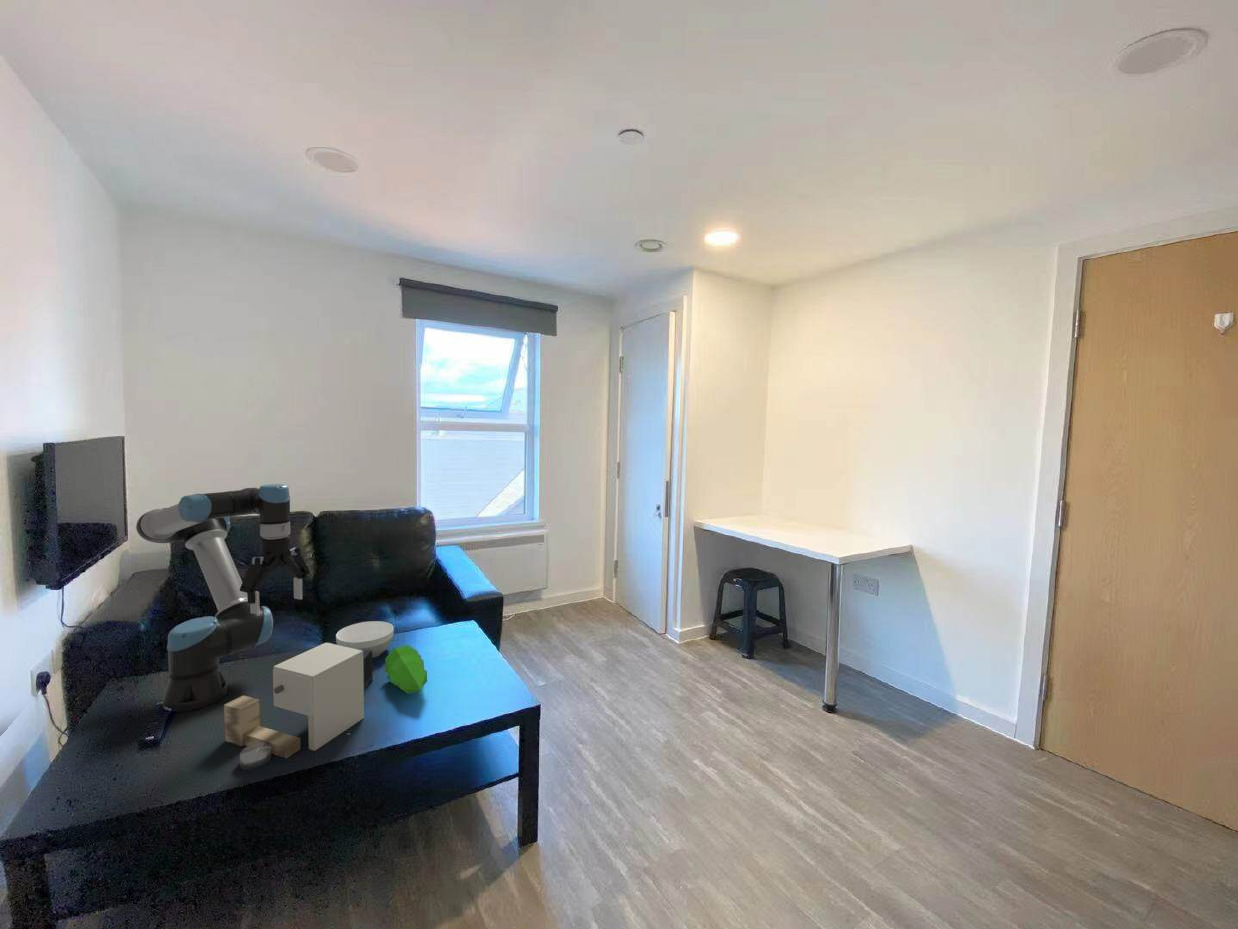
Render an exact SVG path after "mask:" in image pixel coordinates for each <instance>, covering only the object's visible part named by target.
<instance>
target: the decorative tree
mask: <svg viewBox="0 0 1238 929" xmlns="http://www.w3.org/2000/svg"><path fill="white" fill-rule="evenodd" d="M384 660H385V662H384V665H385V666H384V668H385V670H384V671H385V673H387V677H388V678H389V682H390V683H392V684H393V685H394V686H396V687H397V688H398V689H400V690H402V691H403V692H405V693H406V694H408V695H410V694H413V693H418V692H420V691H422V690H421V689H422V688H423V687H424V686H425V684H427V683H428V671H427V670H426V669H425V664H424V662H425V661H424V659H422V655H420V654H419V651H418V650H417V649H415V648H413V646H411V645H410V644H408V645H402V646H397V647H394V649H392V651H391V652H390V653H389V654H388V655H387V656H386V657H385V659H384Z"/></svg>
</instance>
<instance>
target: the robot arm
mask: <svg viewBox="0 0 1238 929" xmlns="http://www.w3.org/2000/svg"><path fill="white" fill-rule="evenodd" d="M248 515H258V516H259V536H260V537H261V538H260V540H259V541H260V550H261V556H258V557H257V556H251V557H250V562H249V566H248V569H247V571H246V573H245V576H244V578H243V581H242V578H241V576H240V574H239V571H238V569H237V567H236V565H235V562H234V560H233V557H232V555H231V553H230V551H229V548H228V546H227V543H226V542H225V539H226V538H227V537H228V533H229V531H230V529H231V522H230V520H231V519H230V518H231V517H238V516H248ZM135 528H136V532H137V533H138V535H139V536H140V537H141V538H142V539H144V540H145V541H148V542H150V543H156V544H171V543H177V542H178V543H179V542H183V543H184V546H185V548H186V549H187V550H190V551H193V552H194V554H195V558H196V560H197V562H198V565H199V567H200V569H201V572H202V575H203V576H204V579H205V582H206V585H207V587H208V589H209V591H210V594H211V596H212V599H213V602H214V603H215V605H216V609H217V612H216V613H215V615H214V616H209V615H208V616H202V617H196V618H193V619H189V620H186V621H184V622H182V623H180V624H178V625H176V626H174V627H173V628H172V629H171V630H170V631H169V633H168V635H167V644H166V650H167V661H168V678H169V679H168V682H167V685H166V688H165V691H164V693H163V696H162V698H161V699H162V701H161V702H162V703H161V704H162V705H163V706H165V707H168V708H171V709H172V710H174V711H176V712H175V713H178V712H179V713H182V712H188V711H189V712H190V711H193V710H199V709H200V708H204V707H208V706H209V705H212V704H214V703H216V702H217V701H220V700H221V699H223V697H225V696H226V695H227V692H228V683H227V681H226V679H225V677H224V675H223V673H222V671H221V669H220V658H223V657H226V656H229V655H232V654H235V653H238V652H241V651H244V650H247V649H250V648H255V647H256V646H259V645H261V644H263V643H266V642H267V641H268V640H269V639H270V638H271V636H272V633H273V629H274V627H273V626H274V619H273V618H274V616H273V614H272V611H271V609H270V608H269V607H267V606H263V605H262V606H260V592H259V591H258V589H259V587H260V586H261V584H262V583H263V581H264V580H265V578H266V577H267V576H268V574H269V572H271V571H272V570H273V569H277V568H280V567H285V568H286V569H288V570H289V571H290V572H291V573H292V574H293V576H295V577H294V578H293V599H294V600H295V599H296V600H303V588H304V586H305V579H306V578H307V577H308V576H307V575H310V573H311V571H310V569H309V567H308V565H307V564H306V562H305V560H304V558H303V556H302V554H301V549H300V548H299V547H294V546H293V547H292V546H291V545H292V540H291V536H290V534H291V495H290V489H289V486H288V485H286V484H280V483H279V484H278V483H277V484H276V483H274V484H272V483H271V484H263V485H261V486H260V487H259V488H257V487H246V488H245V487H244V488H242V489H240V490H239V489H238V490H229V491H221V492H208V493H194V494H190V495H189V494H188V495H187V494H186V495H184V496H182V497H181V498H180V500H179V502H178V503H177V504H174V505H171V506H169V507H163V508H156V509H152V510H149V511H147V512H145V513H143V514H142V515H141V516H139V518H138V520H137V522H136V524H135ZM290 556H291V557H292V560H293V561H294V562H293V561H292V560H291V559H290ZM294 563H295V564H296V565H295V564H294ZM163 706H162V707H163Z"/></svg>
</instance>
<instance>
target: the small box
mask: <svg viewBox="0 0 1238 929" xmlns="http://www.w3.org/2000/svg"><path fill="white" fill-rule="evenodd" d="M362 651H363V676H364V690H365V689H366V688H367V687H368V686H369V685H370V684H371V683H372V681H373V680H374V679H373V659H372V650H362Z"/></svg>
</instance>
